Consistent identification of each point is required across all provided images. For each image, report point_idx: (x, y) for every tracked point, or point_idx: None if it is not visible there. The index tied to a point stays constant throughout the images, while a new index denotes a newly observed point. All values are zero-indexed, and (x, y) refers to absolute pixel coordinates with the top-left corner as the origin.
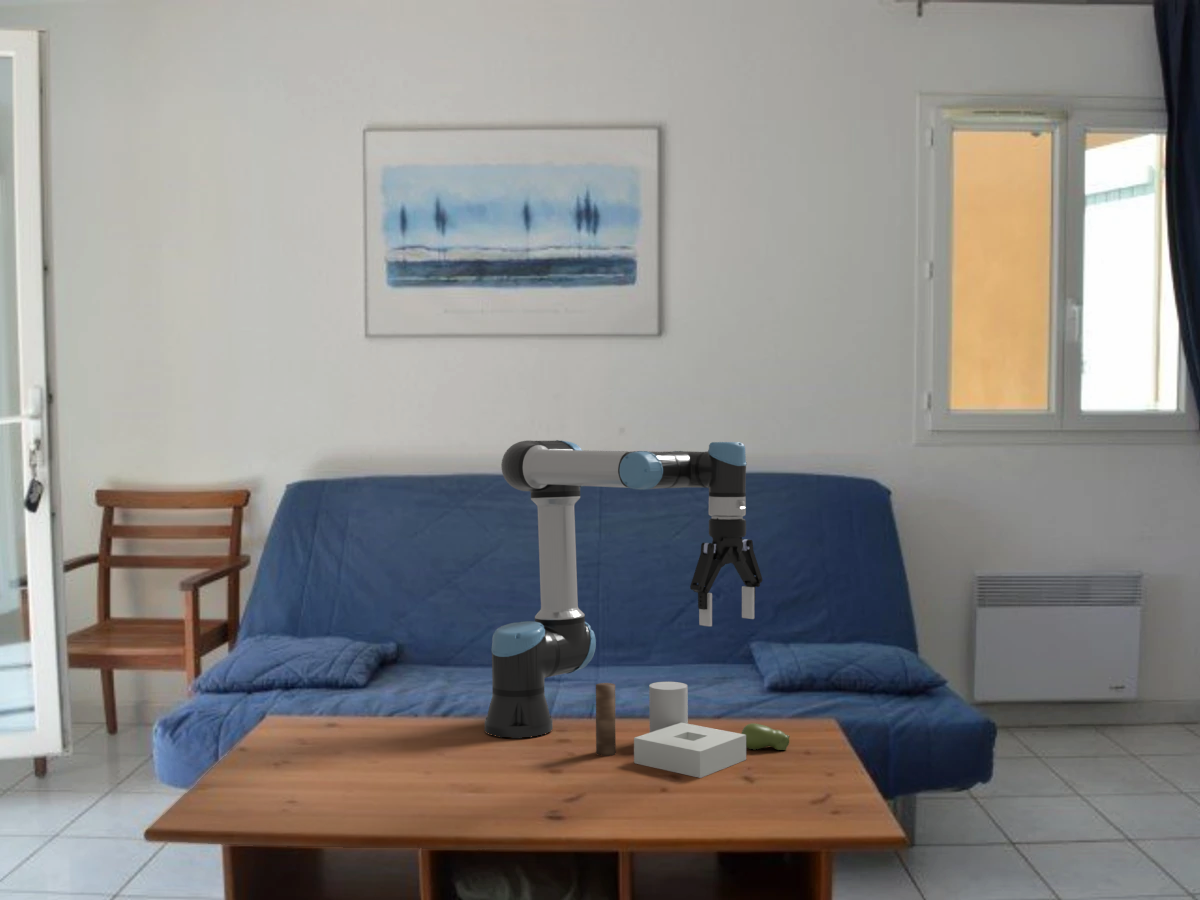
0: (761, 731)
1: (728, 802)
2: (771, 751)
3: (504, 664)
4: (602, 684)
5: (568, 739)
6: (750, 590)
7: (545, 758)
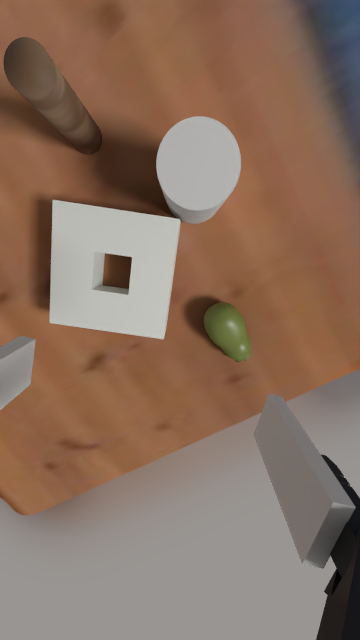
0: (214, 338)
1: None
2: None
3: None
4: (27, 55)
5: (120, 20)
6: (298, 535)
7: None
